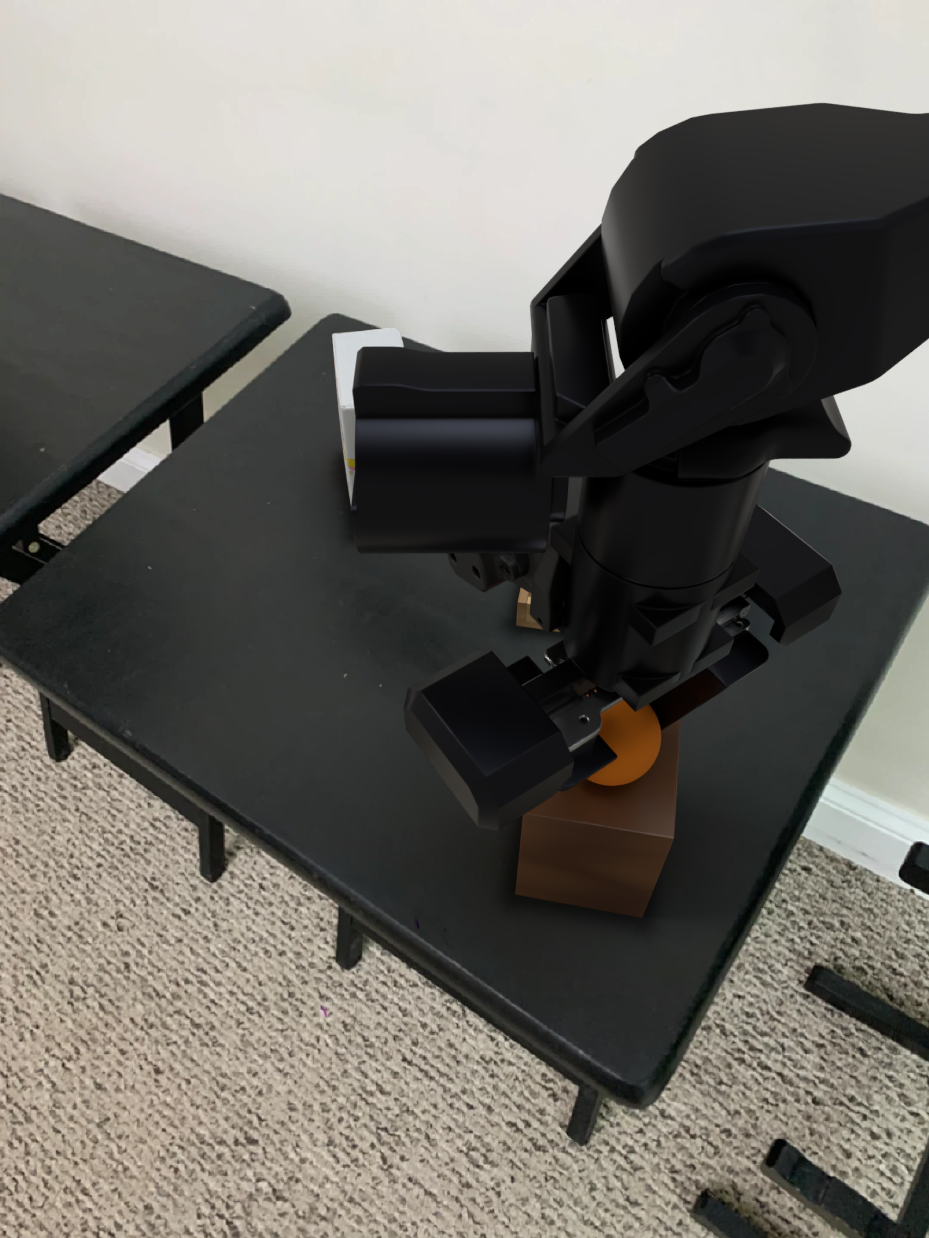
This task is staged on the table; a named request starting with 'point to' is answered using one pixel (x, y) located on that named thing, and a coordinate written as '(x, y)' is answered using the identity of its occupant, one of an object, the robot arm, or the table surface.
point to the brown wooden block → (603, 839)
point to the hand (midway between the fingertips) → (607, 753)
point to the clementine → (628, 743)
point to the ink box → (344, 371)
